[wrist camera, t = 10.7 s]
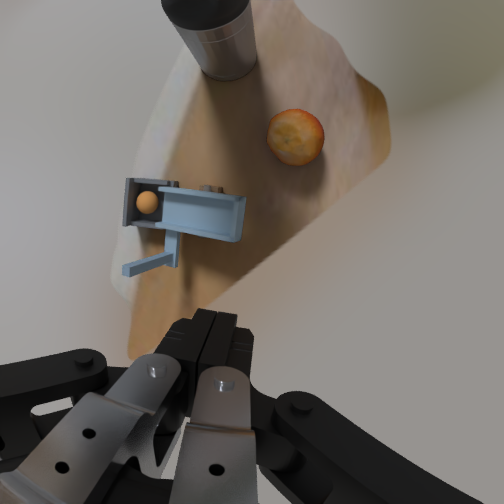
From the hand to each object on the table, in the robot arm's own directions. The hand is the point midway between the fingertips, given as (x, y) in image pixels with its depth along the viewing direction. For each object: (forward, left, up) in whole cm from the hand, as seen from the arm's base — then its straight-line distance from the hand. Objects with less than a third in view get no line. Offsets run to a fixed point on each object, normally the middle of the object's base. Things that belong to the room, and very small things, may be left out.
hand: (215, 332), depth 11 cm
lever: (+2, -7, -29) cm, 30 cm away
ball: (-1, -17, -33) cm, 37 cm away
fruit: (-13, +4, -35) cm, 38 cm away
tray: (-1, -16, -35) cm, 39 cm away
